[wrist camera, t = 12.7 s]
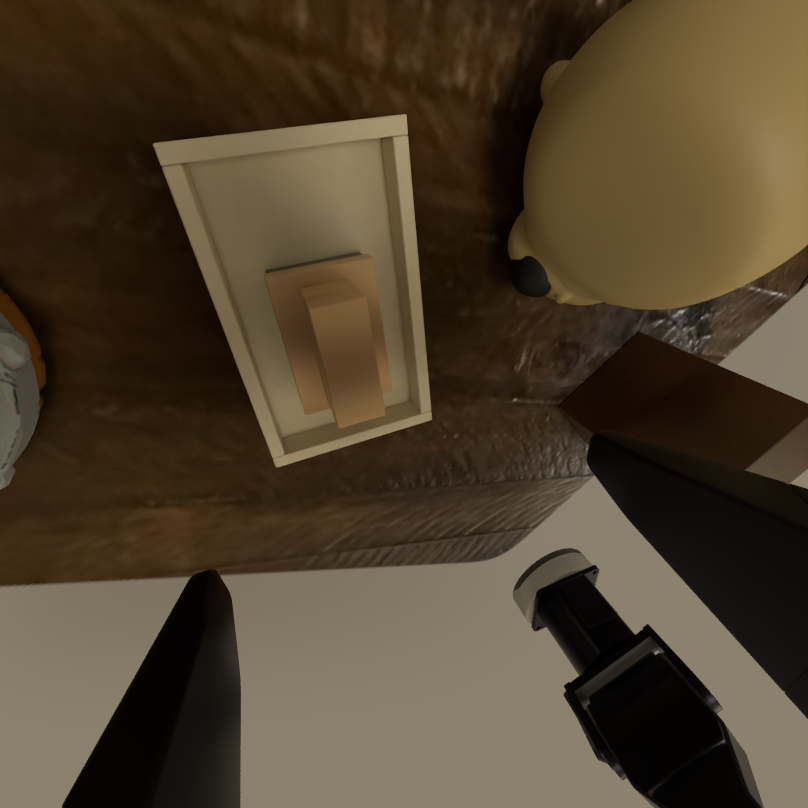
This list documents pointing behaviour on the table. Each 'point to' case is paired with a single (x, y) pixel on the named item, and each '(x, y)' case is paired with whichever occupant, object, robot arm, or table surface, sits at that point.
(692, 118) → the tan animal figurine
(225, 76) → the table surface
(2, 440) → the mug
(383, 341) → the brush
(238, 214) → the tray
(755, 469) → the brown block
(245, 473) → the table surface
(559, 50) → the table surface
